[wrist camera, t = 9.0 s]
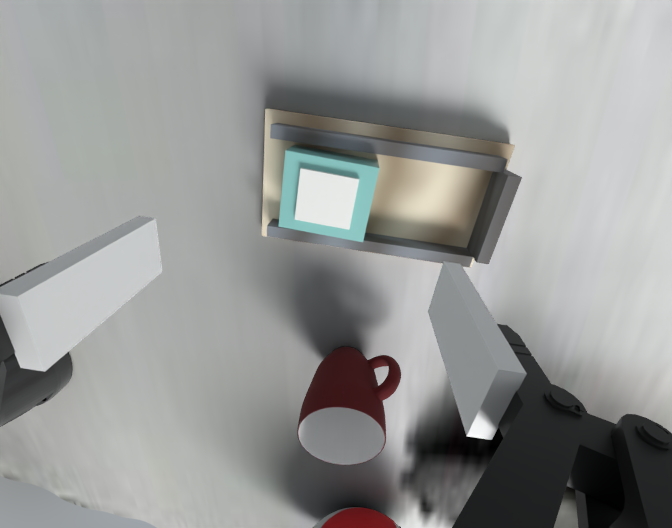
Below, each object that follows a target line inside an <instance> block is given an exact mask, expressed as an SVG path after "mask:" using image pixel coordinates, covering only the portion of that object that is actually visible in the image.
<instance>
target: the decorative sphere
mask: <svg viewBox="0 0 672 528" xmlns="http://www.w3.org/2000/svg"><path fill="white" fill-rule="evenodd" d="M313 528H401V527H400V526H398V525H397V524H396V523H395V522H394V521H393V520H392V519H390V518H389V517H387V516H386V515H384V514H382V513H380V512H378V511H375V510H372V509H369V508H361V507H350V508H344V509H341V510H338V511H335V512H333V513H331V514H329V515H327V516H326V517H324V518H323V519H322V520H320V521H319V522H318V523H317V524H316V525H315V526H314V527H313Z"/></svg>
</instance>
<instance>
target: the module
mask: <svg viewBox="0 0 672 528" xmlns="http://www.w3.org/2000/svg"><path fill="white" fill-rule="evenodd" d="M378 173H379V163H378V160H375V159H369V158H364V157H359V156H353V155H348V154H343V153H337V152H332V151H327V150H321V149H316V148H311V147H305V146H300V145H293V146H292V147H290V148H289V149H287V150H285V161H284V172H283V183H282V194H281V205H280V216H279V226H278V227H284V228H289V229H294V230H300V231H305V232H310V233H316V234H321V235H326V236H332V237H337V238H342V239H348V240H353V241H358V242H363V240H364V235H365V231H366V226H367V222H368V217H369V213H370V208H371V204H372V200H373V195H374V191H375V186H376V182H377V177H378Z"/></svg>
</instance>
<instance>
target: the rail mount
mask: <svg viewBox="0 0 672 528" xmlns="http://www.w3.org/2000/svg"><path fill="white" fill-rule="evenodd" d="M293 145H300V146H305V147H311V148H316V149H321V150H327V151H332V152H337V153H343V154H348V155H353V156H359V157H364V158H369V159H375V160H378V163H379V173H378V177H377V182H376V186H375V191H374V195H373V200H372V204H371V208H370V213H369V217H368V222H367V226H366V231H365V235H364V240H363V242H358V241H353V240H348V239H342V238H337V237H332V236H326V235H321V234H316V233H310V232H305V231H300V230H294V229H289V228H284V227H278V226H279V216H280V205H281V194H282V183H283V172H284V161H285V150H287V149H289V148H290V147H292V146H293ZM514 147H515V145H512V144H507V143H500V142H493V141H486V140H480V139H473V138H466V137H459V136H452V135H446V134H439V133H432V132H425V131H418V130H412V129H405V128H398V127H391V126H384V125H378V124H371V123H364V122H357V121H350V120H344V119H337V118H330V117H323V116H316V115H310V114H303V113H296V112H289V111H282V110H276V109H269V108H268V109H265V139H264V173H263V208H262V236H267V237H273V238H280V239H286V240H293V241H299V242H306V243H312V244H319V245H325V246H332V247H339V248H345V249H352V250H358V251H365V252H371V253H378V254H384V255H391V256H397V257H404V258H410V259H417V260H424V261H430V262H437V263H443V262H451V263H458V264H461V265H462V266H463V267H469V268H471V267H472V264H473V261H474V259H475V261H476V262H478V263H484V264H489V262H490V259H491V256H492V254H493V251H494V249H495V246H496V243H497V241H498V238H499V236H500V233H501V230H502V228H503V225H504V223H505V220H506V217H507V215H508V212H509V210H510V207H511V204H512V202H513V199H514V197H515V194H516V191H517V189H518V186H519V184H520V181H521V178H522V177H520V176H518V175H516V174H514V173H512V172H510V171H508V170H506V169H507V166H508V164H509V161H510V158H511V155H512V152H513V150H514Z"/></svg>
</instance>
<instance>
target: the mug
mask: <svg viewBox="0 0 672 528" xmlns="http://www.w3.org/2000/svg"><path fill="white" fill-rule="evenodd" d="M382 366H389V372H388V376H387V378H386V379H385V381H384V382H383V383H382V384H381V385H379V386H378V383H377V380H376V376H375V372H374V369H375V368H378V367H382ZM400 379H401V371H400V367H399V365H398V363H397V362H396V361H395V360H394V359H393V358H392V357H390V356H386V355H381V356H377V357H374V358H372V359H370V360H367V359H366V358H365V357H364V356H363V355H362V354H361V352H359V351H358V350H356V349H355V348H352V347H340V348H337V349H336V350H334V351H333V352H332V353H330V354H329V355H328V356H327V357H326V358H325V359H324V360H323V361H322V362H321V364H320V365H319V367H318V369H317V371H316V373H315V375H314V377H313V380H312V382H311V384H310V387H309V389H308V391H307V394H306V396H305V399H304V402H303V405H302V408H301V413H300V418H299V424H298V432H297V434H298V439H299V442H300V443H301V445H302V446H303V448H304V449H305V450H306V451H307V452H308V453H310V454H311V455H312V456H314V457H316V458H318V459H320V460H322V461H325V462H328V463H332V464H337V465H355V464H360V463H364V462H367V461H369V460H371V459H373V458H374V457H376V456H377V455H378V454H379V453H380V452H381V451H382V449H383V448H384V445H385V442H386V425H385V412H384V406H383V402H382V401H383V400H385V399H387V398H388V397H390V396H391V395H392V394H393V393H394V392H395V390H396V389H397V387H398V385H399V383H400Z"/></svg>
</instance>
